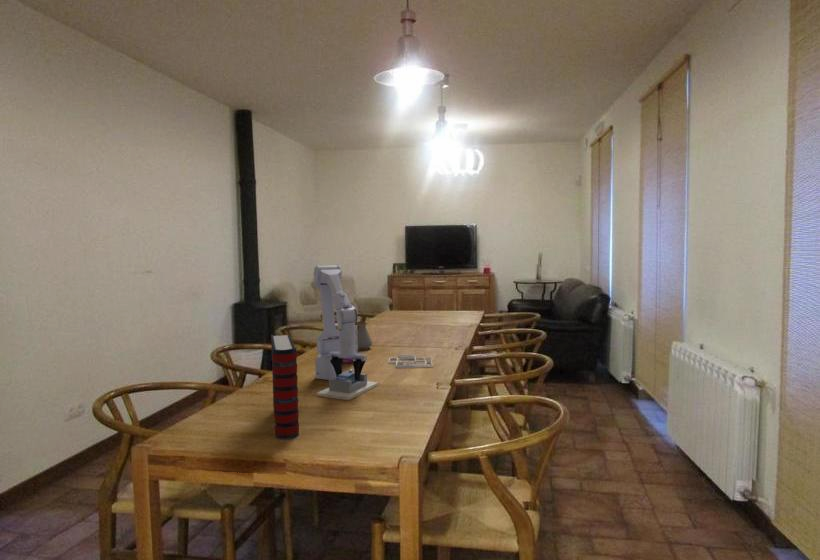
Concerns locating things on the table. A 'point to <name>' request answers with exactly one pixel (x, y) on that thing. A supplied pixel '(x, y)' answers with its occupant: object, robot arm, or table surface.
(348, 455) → the table surface
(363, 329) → the coffee pot
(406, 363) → the floor plan model
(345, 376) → the block
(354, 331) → the robot arm
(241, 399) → the table surface
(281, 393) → the book
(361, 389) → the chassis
